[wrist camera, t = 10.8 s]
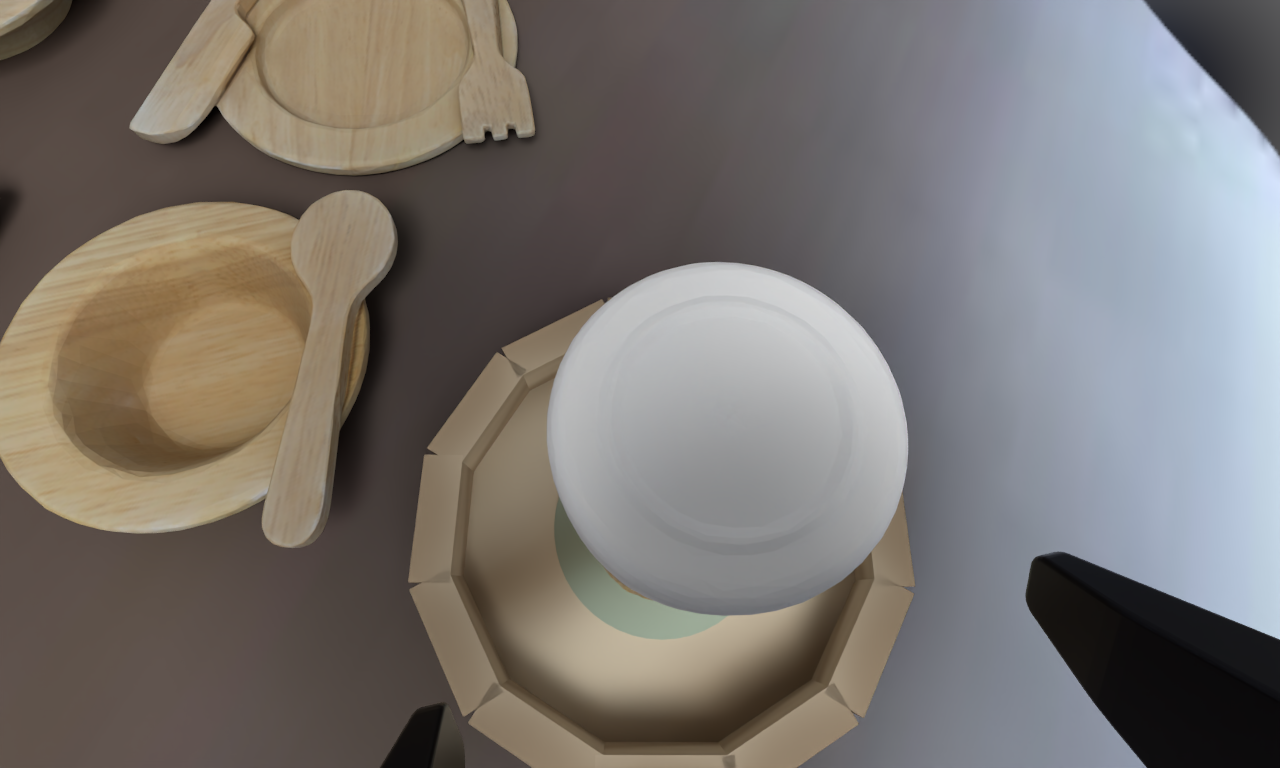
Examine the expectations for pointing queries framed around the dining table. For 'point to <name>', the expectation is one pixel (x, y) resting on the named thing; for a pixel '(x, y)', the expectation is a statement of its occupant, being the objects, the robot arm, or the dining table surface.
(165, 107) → the tableware set
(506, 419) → the tray
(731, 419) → the sprinkles bottle
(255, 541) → the dining table surface
